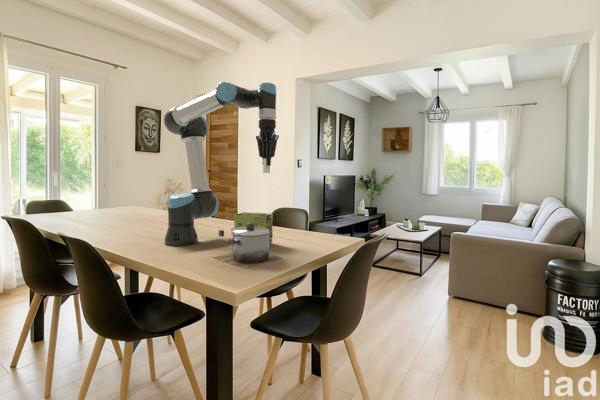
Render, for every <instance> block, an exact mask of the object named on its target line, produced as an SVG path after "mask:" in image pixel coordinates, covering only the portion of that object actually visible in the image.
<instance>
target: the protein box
mask: <svg viewBox="0 0 600 400" xmlns="http://www.w3.org/2000/svg"><path fill="white" fill-rule="evenodd" d="M273 216H274V213H271V212H270V213H268V212H267V213H266V212H265V213H264V212H263V213H262V212H239V213H236V214H234V222H233V223H234V225H233V226H234V227H233V228H235V227H243V226H245V227H246V225H247V223H254V226H257V227H263V228H267V229H269V234H273V220H274V218H273ZM272 244H273V237H271V238H269V246H271V245H272Z"/></svg>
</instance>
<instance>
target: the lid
mask: <svg viewBox="0 0 600 400" xmlns="http://www.w3.org/2000/svg"><path fill="white" fill-rule="evenodd" d="M230 229H231V230H230V231H231V234H232V236H233V235H237V236H245V237H255V236H264V235H267V234H269V229H267V228H263V227H254V223H247V225H246V227H245V226H243V227H235V228H234V227H231V228H230Z"/></svg>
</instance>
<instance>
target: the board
mask: <svg viewBox="0 0 600 400" xmlns="http://www.w3.org/2000/svg"><path fill="white" fill-rule="evenodd" d="M211 258H212V259H215V260H218V261H221V262H224V263H226V264H229V265H232V266H235V267H238V268H242V269H246V268H249V267H250V268H251V267H254V266H258V265H263V264H265V263H270V262H274V261H278V260H283V259H284V257H281V256H277V255H274V254H270V253H269V260H268V261H265V262H262V263H254V264H245V263H238V262H235V261H233V252H232V253H226V254H221V255H220V254H219V255H217V256H211Z"/></svg>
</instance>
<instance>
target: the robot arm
mask: <svg viewBox="0 0 600 400" xmlns="http://www.w3.org/2000/svg"><path fill="white" fill-rule="evenodd" d="M231 104H233V105H237V107H238V108H240V109H247V110H248V109H253V108H258V119H259V120H258V129H260V131H259V135H256V136H255V140H256V142H257V148H258V156H259V157H260V158H261V159H262V167H263V169H262V173H263V174H271V162H272V158H274V157H275V154H276V149H277V143H278V139H279V137H280V136H279V134H276V127H277V123H276V122H277V121H276V119H277V107H276V106H277V87H276V84H274V83H273V82H262V83H260V84H259V86H258V89H252V90H250V89H248V88H245V87H242V86H239V85H235V84H233V83H231V82H226V81H221V82H218V85H217V86H216V88H215V90H213V91H211V92H209V93H206V94H205V95H203V96H200V97H198V98H196V99H194V100H191V101H189V102H187V103H186V104H183V105H181V106H180V105H176V106H173V107H172V108H169V110H167V111H166V113H165V114H164V118H163V123H164V126H165V128H166V130H168V131H169V132H170V133H172V134H173V135H178V136H180V139H181V142H183V143H184V146H185V153H186V159H187V167H188V173H189V180H190V186H191V190H190V191H189V192H188V193H187V192H186V193H177V194H173V195H171V196H169V197H168V200H167V213H168V214H167V215H168V217H167V219H168V220H167V221H168V222H167V223H168V224H167V225H168V226H167V230H166V233H165V236H164V245H167V246H176V247H177V246H191V245H194V244H197V243H198V242H199V237H198V234H197V231H196V228H195V220H197V219H206V218H207V219H208V218H209V217H213V216H215V215H216V214H217V212H218V210H219V209H220V207H219V206H220V201H219V199H218V197H217V196H216V195H215V194H213V189H211V188H210V186H209V179H208V171H207V166H206V158H205V157H206V156H205V151H204V150H205V148H204V144H203V142H204V140H205V139H206V136H207V134H208V131H209V124H208V122H207V120H206V119H205V117H204V116H206V115H207V114H210V113H212V112H215V111H216V110H219V109H221V108H224V107H225V106H228V105H231Z"/></svg>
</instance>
